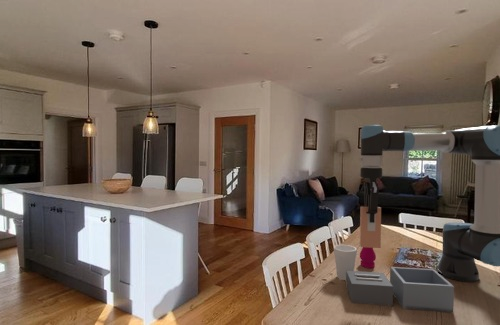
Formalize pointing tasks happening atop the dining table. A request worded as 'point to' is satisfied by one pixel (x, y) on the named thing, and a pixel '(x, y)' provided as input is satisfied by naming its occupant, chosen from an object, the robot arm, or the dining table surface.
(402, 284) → the bin
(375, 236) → the terracotta flat slab
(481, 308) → the dining table surface
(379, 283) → the dispenser
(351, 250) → the foam cup
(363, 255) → the pepper mill
